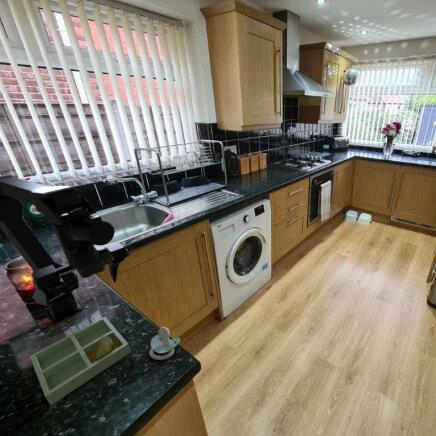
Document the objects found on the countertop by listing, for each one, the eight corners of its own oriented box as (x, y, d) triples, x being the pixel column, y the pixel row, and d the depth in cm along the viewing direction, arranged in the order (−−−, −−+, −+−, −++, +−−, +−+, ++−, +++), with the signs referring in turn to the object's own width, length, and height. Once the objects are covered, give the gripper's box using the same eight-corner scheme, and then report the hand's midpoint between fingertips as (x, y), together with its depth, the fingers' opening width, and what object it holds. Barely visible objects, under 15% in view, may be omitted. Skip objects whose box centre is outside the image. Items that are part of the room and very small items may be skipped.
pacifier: (168, 364, 59) (184, 342, 64) (162, 346, 56) (179, 325, 61) (143, 357, 60) (161, 337, 66) (136, 339, 58) (155, 320, 63)
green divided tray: (34, 364, 59) (29, 356, 58) (108, 324, 70) (104, 316, 69) (50, 405, 50) (45, 396, 49) (131, 352, 62) (128, 343, 60)
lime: (99, 366, 57) (92, 351, 56) (90, 357, 60) (83, 342, 58) (120, 352, 61) (114, 337, 59) (110, 343, 63) (104, 329, 61)
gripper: (28, 267, 48) (58, 326, 54) (130, 233, 62) (145, 283, 68) (18, 250, 55) (46, 305, 61) (113, 223, 68) (128, 270, 74)
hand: (95, 290), depth 66 cm, fingers open, 9 cm apart
